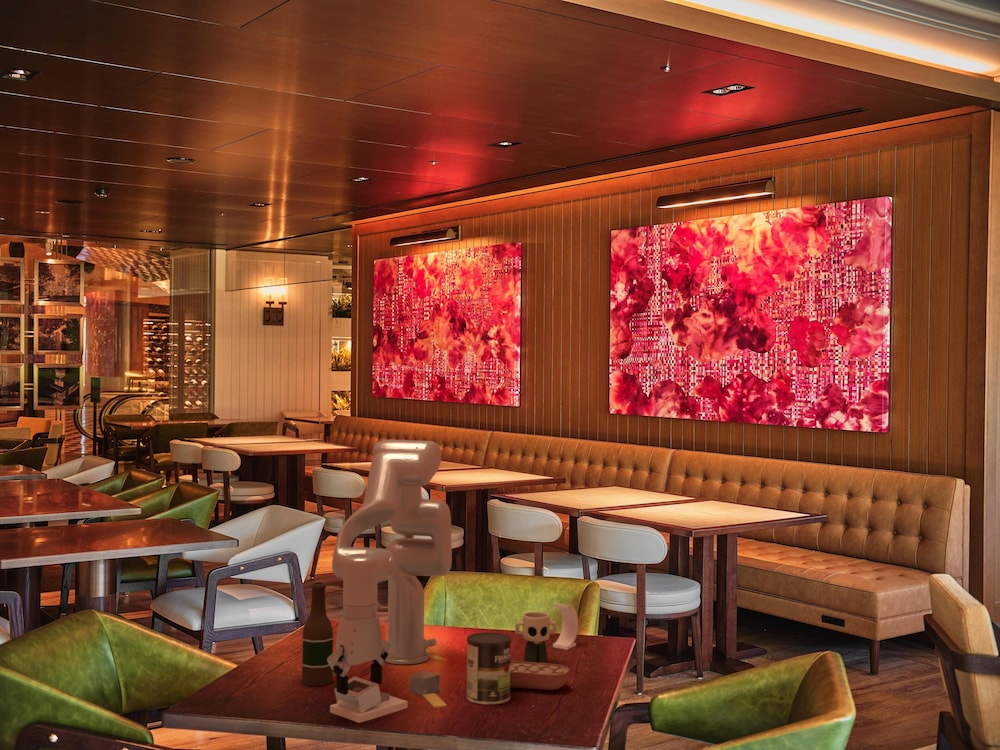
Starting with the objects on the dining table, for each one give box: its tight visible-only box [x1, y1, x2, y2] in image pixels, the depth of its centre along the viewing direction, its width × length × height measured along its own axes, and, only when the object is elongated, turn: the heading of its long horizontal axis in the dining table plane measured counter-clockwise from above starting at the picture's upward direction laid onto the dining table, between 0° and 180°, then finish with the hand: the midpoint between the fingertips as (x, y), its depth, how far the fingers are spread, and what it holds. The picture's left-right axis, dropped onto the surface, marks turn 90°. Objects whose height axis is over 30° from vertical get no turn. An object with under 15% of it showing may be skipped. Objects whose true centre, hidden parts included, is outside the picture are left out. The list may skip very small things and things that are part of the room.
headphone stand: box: [552, 602, 579, 651], centre depth 286 cm, size 5×6×12 cm
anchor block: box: [409, 670, 441, 697], centre depth 243 cm, size 5×5×4 cm
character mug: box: [514, 611, 558, 663], centre depth 267 cm, size 11×7×13 cm, turn 99°
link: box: [333, 676, 381, 713], centre depth 227 cm, size 6×8×4 cm
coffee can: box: [466, 632, 512, 706], centre depth 239 cm, size 10×10×14 cm
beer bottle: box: [301, 581, 334, 687], centre depth 250 cm, size 8×8×24 cm
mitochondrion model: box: [510, 660, 570, 691], centre depth 248 cm, size 23×10×5 cm, turn 84°
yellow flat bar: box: [422, 693, 448, 709], centre depth 236 cm, size 9×3×1 cm, turn 21°
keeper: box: [329, 687, 408, 724], centre depth 229 cm, size 14×10×6 cm
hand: (359, 688), depth 227 cm, fingers open, 9 cm apart
